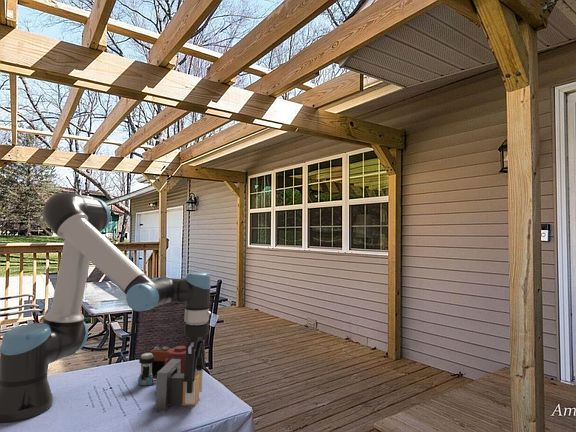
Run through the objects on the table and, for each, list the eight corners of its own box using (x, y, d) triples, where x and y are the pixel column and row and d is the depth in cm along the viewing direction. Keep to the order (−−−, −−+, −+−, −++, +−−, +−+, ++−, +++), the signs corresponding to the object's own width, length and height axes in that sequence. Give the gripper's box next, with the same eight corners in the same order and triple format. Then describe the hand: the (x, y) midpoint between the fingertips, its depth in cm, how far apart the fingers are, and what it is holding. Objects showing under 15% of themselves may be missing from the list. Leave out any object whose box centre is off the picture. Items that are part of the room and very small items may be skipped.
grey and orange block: (156, 404, 112) (157, 377, 113) (161, 398, 116) (162, 372, 117) (195, 405, 112) (196, 378, 113) (198, 400, 116) (199, 373, 117)
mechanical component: (198, 379, 133) (185, 390, 123) (173, 376, 135) (158, 387, 125) (199, 344, 134) (186, 352, 124) (174, 342, 136) (159, 350, 126)
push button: (159, 380, 131) (160, 352, 132) (154, 386, 126) (156, 356, 126) (140, 380, 131) (142, 352, 131) (135, 386, 125) (136, 356, 126)
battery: (166, 377, 135) (168, 349, 135) (148, 376, 135) (149, 348, 136) (171, 372, 139) (172, 345, 140) (153, 372, 139) (154, 345, 140)
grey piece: (155, 411, 108) (157, 372, 109) (170, 393, 121) (172, 358, 122) (165, 411, 108) (167, 373, 109) (179, 393, 121) (181, 359, 122)
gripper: (199, 330, 105) (196, 412, 104) (215, 316, 126) (213, 384, 125) (173, 329, 106) (170, 412, 104) (194, 315, 126) (191, 383, 125)
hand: (193, 396), depth 114 cm, fingers open, 8 cm apart
